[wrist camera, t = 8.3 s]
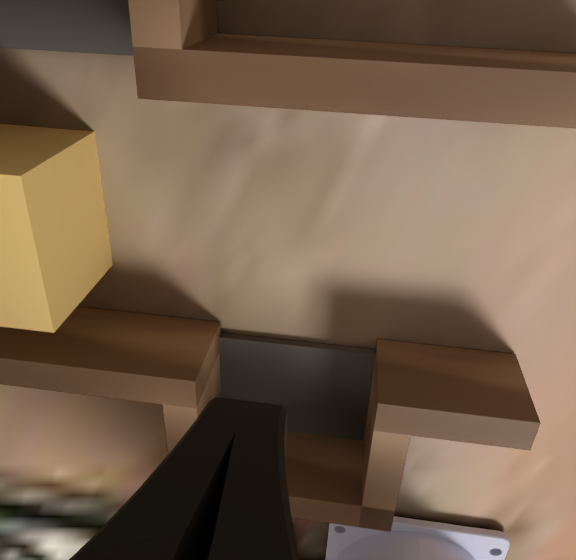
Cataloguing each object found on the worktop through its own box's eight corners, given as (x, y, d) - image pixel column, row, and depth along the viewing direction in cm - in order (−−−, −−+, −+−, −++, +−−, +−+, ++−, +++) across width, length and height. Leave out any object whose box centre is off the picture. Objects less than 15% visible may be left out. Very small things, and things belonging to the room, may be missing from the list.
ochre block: (114, 263, 21) (54, 332, 17) (-11, 250, 21) (-97, 314, 17) (95, 130, 18) (20, 176, 14) (-46, 119, 19) (-156, 160, 15)
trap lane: (479, 471, 23) (495, 546, 20) (-24, 405, 25) (-77, 465, 22) (679, -183, 12) (778, -230, 9) (-224, -195, 15) (-378, -237, 12)
